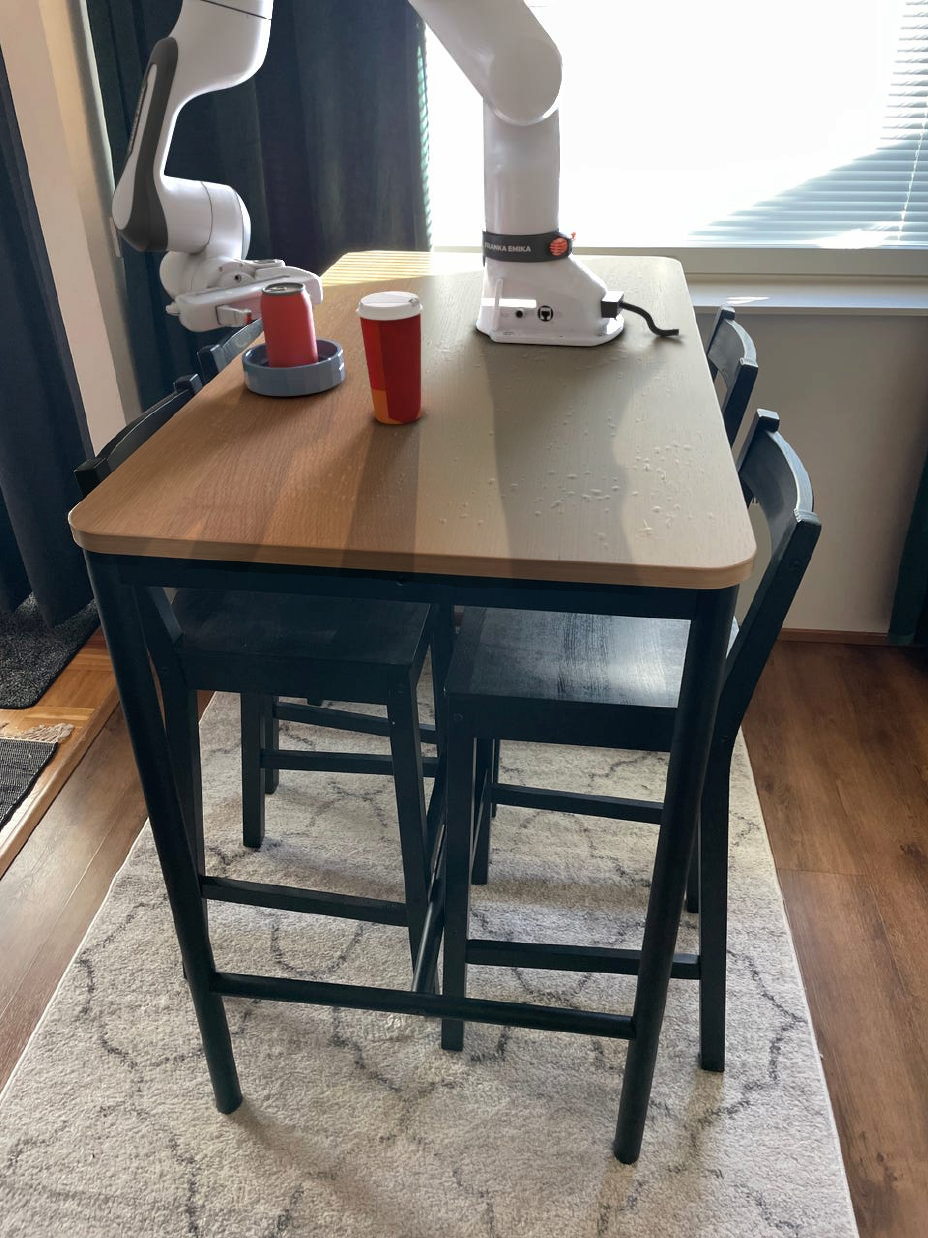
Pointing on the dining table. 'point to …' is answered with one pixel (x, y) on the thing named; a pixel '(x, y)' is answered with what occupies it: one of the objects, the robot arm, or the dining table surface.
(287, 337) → the beer can
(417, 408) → the paper cup
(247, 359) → the bowl
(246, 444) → the dining table surface
